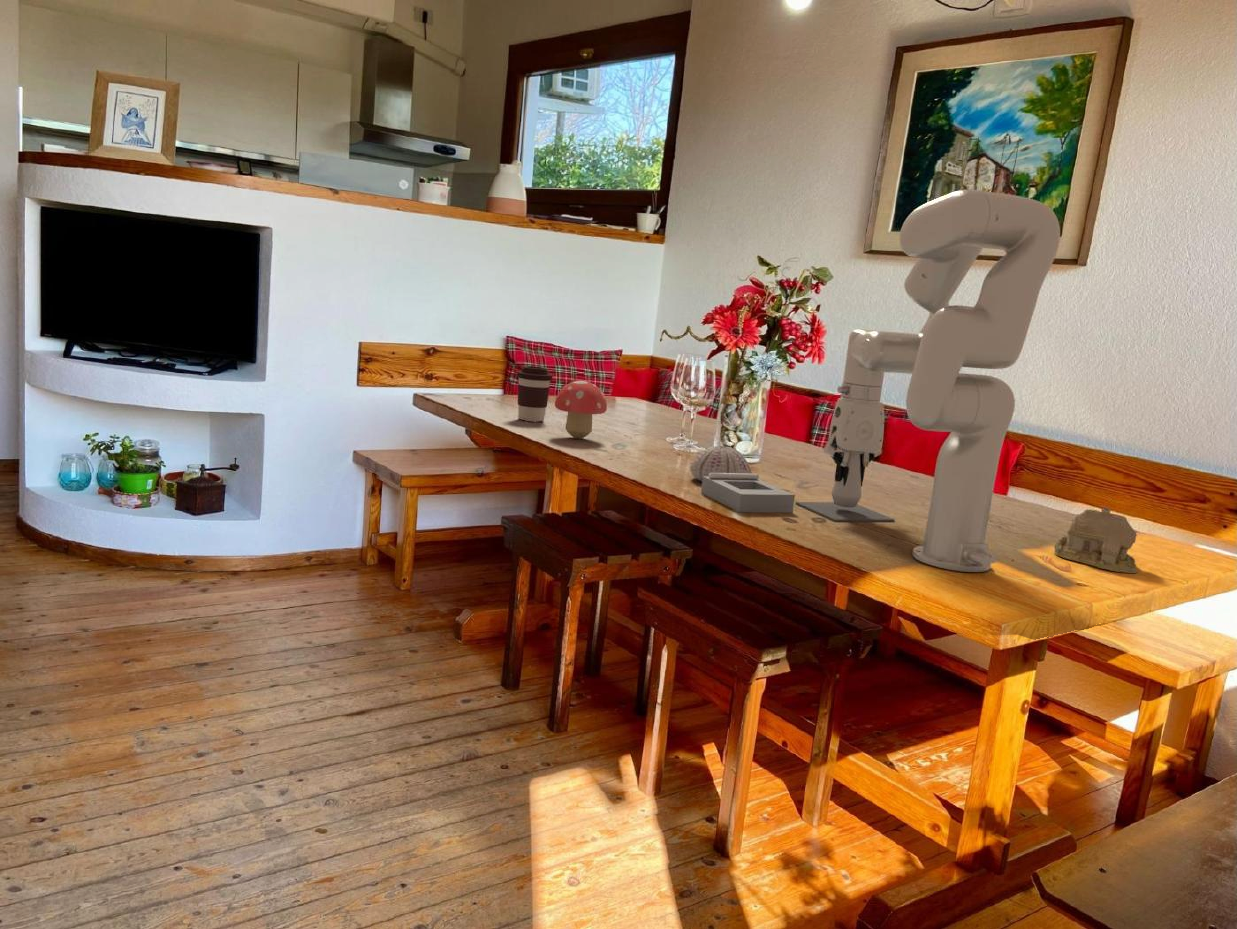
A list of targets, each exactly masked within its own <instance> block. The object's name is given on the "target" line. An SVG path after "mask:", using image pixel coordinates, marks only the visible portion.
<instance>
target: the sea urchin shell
mask: <svg viewBox="0 0 1237 929" xmlns="http://www.w3.org/2000/svg"><path fill="white" fill-rule="evenodd" d="M689 468H690V472H691V475H692V477H693V478H694V479H697V480H699V481H701V482H702V481H703V476H709V473H748V474H753V472H752V468H751V466H750V464H749V462H748V461H747V459H746V458H745V456H743V455H742V453H741V452H740V451H739V450H738V449H735V448H732V447H729V446H724V445H713V446H709V447H708V448H705V449H704V450H701V452H698V454H697V455H695V458H693V460H692V462H691V463H690V466H689Z"/></svg>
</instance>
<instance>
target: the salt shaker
mask: <svg viewBox="0 0 1237 929" xmlns="http://www.w3.org/2000/svg"><path fill="white" fill-rule="evenodd" d="M860 454H862V455H863V452H850V454H849V458H848V462H847V465H846V466H847V467H849V472H848V476H847V481H846V484H845V486H843V478H842V480H841V481H840V482H838V481H836V480H835V479H834V483H833V487H832V490H831V496H832V499H833V502H834V504H835V505H838V506H842V507H849V508H850V507H856V505H857V504H858V503H859V502H860V500H861V499H862V487H861V471H860Z"/></svg>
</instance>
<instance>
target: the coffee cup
mask: <svg viewBox="0 0 1237 929" xmlns="http://www.w3.org/2000/svg"><path fill="white" fill-rule="evenodd" d="M516 378H518V383H517V405H518V409H517V414H518V415H517V416H518V420H519V419H522V420H526V421H525V422H527V421H543V422H544V421H545V414H546V409H547V407H548V401H549V394H550V389H551V388H550V382H551V381H553V374H551V373H550V372H549V369H548V368H547V367H543V366H535V365H534V366H533V365H525V366H523V367H522V369H521V370H518V371H517V372H516ZM522 420H521V421H522Z"/></svg>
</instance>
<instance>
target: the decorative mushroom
mask: <svg viewBox="0 0 1237 929" xmlns="http://www.w3.org/2000/svg"><path fill="white" fill-rule="evenodd" d="M554 407H555V408H556V409H557V410H558V411H560V412H561V411H562V412H566V413H567V414H566V415H567V417H566V423H565V431H567V433H568V434H569V435H570V436H571V437H572V438H574V439H577V438H578V440H579V439H584V438H585V437H588V436H589V435H590V434H591V433H592V431H593V415H601V414H604V413H606V412H607V408H608V405H607V400H606V396H605V395H604V392H603V391H602V390H601V389H600V388H599V387H598V386H597V385H596V384H594V383H592V382H590V381H586V380H575V381H572V382H569V383H567V384H566V385H565V386H563V387H562V388H561V390H560V391H559V392H558V394H557V395H556V398H555V401H554Z"/></svg>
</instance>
